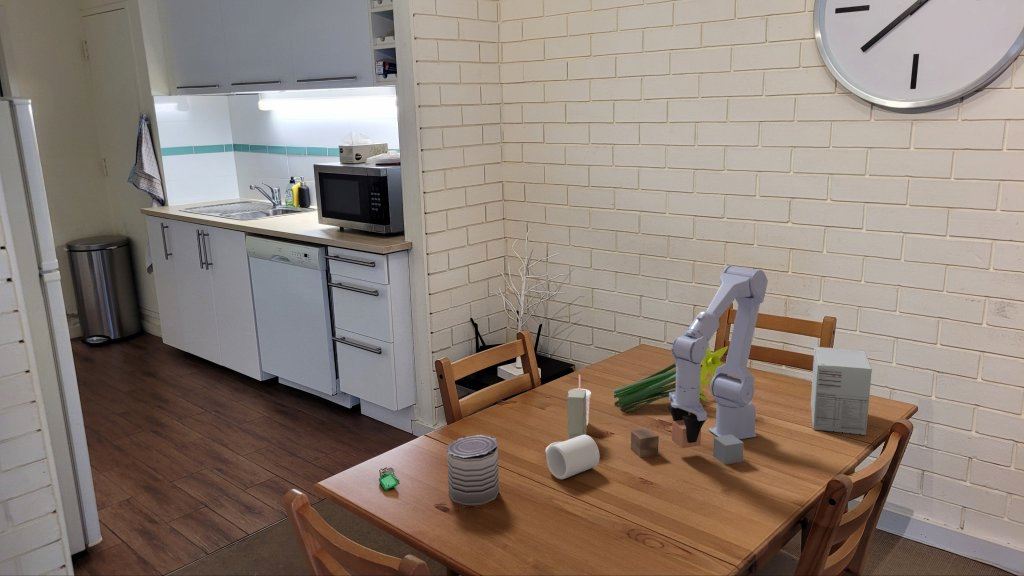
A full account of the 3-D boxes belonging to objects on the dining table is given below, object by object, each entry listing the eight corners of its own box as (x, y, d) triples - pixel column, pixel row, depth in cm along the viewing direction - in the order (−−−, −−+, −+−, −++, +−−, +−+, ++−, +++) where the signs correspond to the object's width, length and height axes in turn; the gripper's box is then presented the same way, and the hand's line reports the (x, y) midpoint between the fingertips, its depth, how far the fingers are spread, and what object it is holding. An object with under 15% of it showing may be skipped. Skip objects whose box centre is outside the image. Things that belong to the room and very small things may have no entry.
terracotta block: (689, 437, 188) (690, 418, 186) (700, 445, 183) (701, 426, 182) (671, 440, 186) (672, 421, 185) (682, 448, 181) (682, 429, 180)
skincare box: (584, 442, 194) (584, 398, 191) (567, 441, 194) (566, 397, 192) (586, 432, 200) (586, 389, 197) (570, 431, 200) (570, 388, 198)
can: (480, 510, 161) (478, 459, 159) (438, 497, 167) (435, 447, 164) (508, 488, 171) (507, 439, 168) (467, 476, 177) (466, 429, 174)
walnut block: (648, 446, 191) (649, 428, 189) (658, 454, 186) (658, 436, 185) (630, 449, 189) (631, 431, 188) (639, 457, 184) (640, 438, 183)
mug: (599, 472, 178) (600, 440, 176) (567, 484, 172) (567, 452, 170) (566, 454, 187) (566, 424, 185) (535, 466, 181) (534, 435, 180)
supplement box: (867, 436, 194) (873, 369, 190) (812, 430, 198) (816, 365, 194) (860, 411, 210) (865, 349, 206) (809, 406, 214) (813, 345, 210)
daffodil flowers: (606, 398, 226) (712, 359, 230) (627, 438, 216) (737, 396, 220) (604, 365, 213) (716, 324, 218) (626, 405, 204) (742, 362, 208)
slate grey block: (730, 453, 186) (731, 434, 185) (742, 461, 181) (743, 442, 180) (713, 456, 185) (713, 437, 183) (724, 465, 180) (725, 445, 179)
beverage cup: (565, 426, 204) (565, 377, 201) (572, 417, 209) (572, 370, 206) (587, 429, 202) (587, 379, 198) (593, 420, 207) (593, 372, 204)
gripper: (658, 377, 187) (657, 428, 190) (688, 397, 173) (686, 451, 176) (683, 373, 189) (682, 424, 192) (715, 393, 175) (713, 447, 178)
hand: (686, 437), depth 184 cm, fingers closed on terracotta block, 5 cm apart
